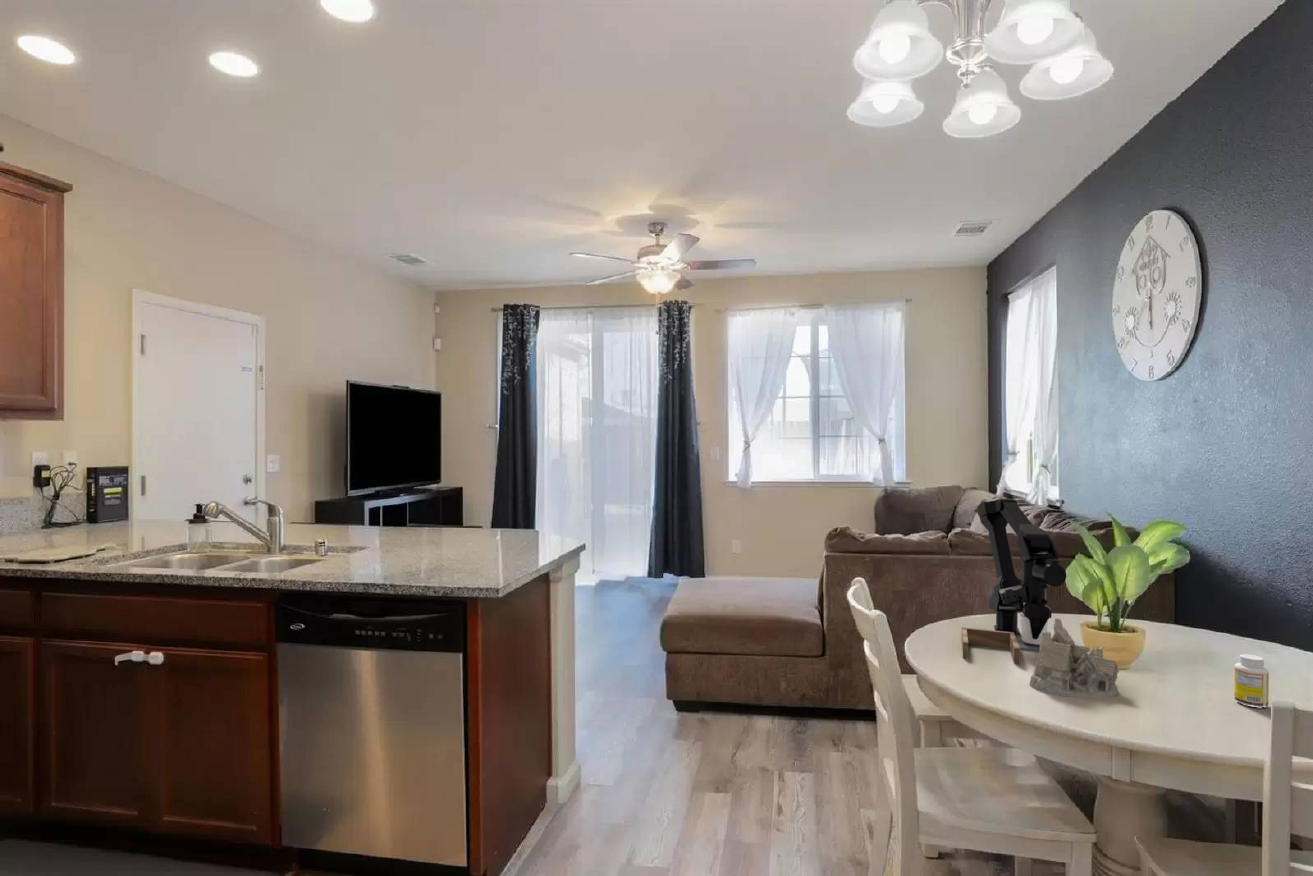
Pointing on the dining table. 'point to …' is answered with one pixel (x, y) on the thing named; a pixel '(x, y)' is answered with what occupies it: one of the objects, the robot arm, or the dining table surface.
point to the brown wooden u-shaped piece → (990, 640)
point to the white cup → (1029, 631)
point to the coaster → (1028, 646)
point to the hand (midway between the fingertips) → (1033, 635)
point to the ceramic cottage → (1072, 668)
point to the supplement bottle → (1251, 681)
